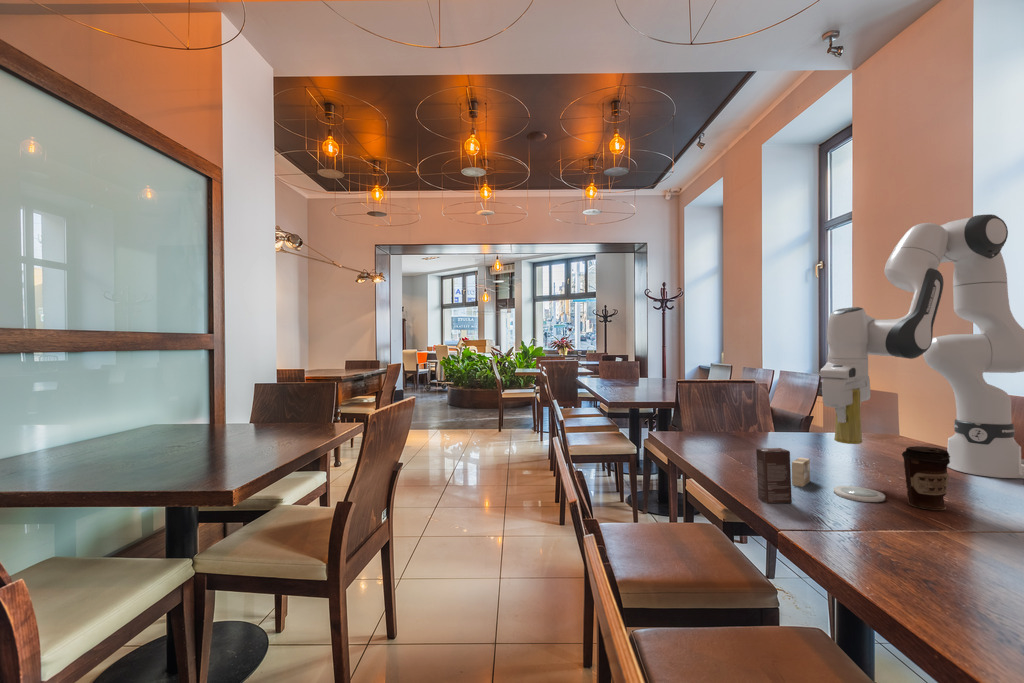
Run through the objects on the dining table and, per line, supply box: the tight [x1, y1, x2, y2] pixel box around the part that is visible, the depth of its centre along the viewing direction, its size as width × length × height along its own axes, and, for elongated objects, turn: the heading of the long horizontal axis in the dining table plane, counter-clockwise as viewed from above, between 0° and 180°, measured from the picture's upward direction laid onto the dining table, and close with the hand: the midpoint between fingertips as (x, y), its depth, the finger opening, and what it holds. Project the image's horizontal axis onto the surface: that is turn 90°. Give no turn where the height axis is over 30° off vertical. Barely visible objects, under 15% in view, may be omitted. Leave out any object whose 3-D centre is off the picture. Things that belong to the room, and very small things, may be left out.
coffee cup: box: [901, 445, 950, 511], centre depth 106 cm, size 9×8×13 cm
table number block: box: [791, 456, 811, 488], centre depth 124 cm, size 7×3×6 cm, turn 134°
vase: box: [833, 388, 863, 445], centre depth 126 cm, size 6×6×14 cm
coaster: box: [833, 485, 886, 503], centre depth 114 cm, size 10×10×1 cm
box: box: [755, 447, 793, 504], centre depth 111 cm, size 6×4×12 cm
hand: (848, 420), depth 126 cm, fingers closed on vase, 5 cm apart
